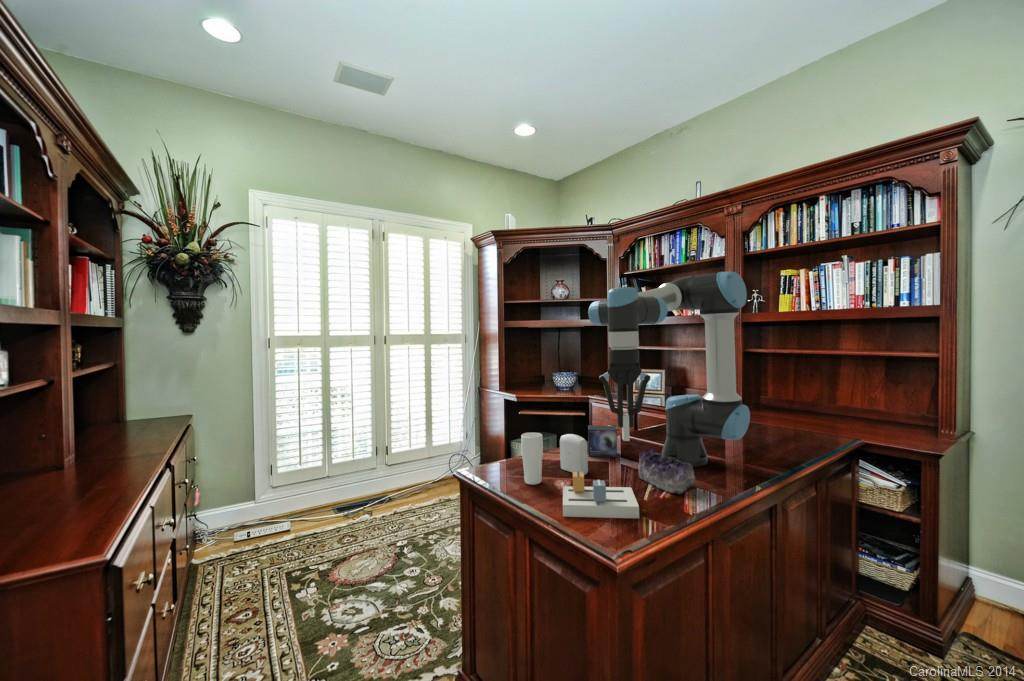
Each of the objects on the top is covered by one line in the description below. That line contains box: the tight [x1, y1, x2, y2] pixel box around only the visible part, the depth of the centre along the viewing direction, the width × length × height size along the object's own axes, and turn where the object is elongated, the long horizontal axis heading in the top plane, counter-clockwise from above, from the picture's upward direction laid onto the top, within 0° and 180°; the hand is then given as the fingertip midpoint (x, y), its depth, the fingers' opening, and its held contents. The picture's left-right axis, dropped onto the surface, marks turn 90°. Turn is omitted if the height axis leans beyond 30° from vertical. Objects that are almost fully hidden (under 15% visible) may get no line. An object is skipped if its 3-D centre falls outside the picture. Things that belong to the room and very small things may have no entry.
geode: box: [637, 448, 696, 496], centre depth 131 cm, size 20×12×10 cm, turn 27°
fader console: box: [562, 485, 640, 519], centre depth 115 cm, size 19×13×3 cm
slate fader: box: [592, 479, 607, 502], centre depth 112 cm, size 3×4×4 cm
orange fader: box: [572, 471, 585, 492], centre depth 119 cm, size 3×4×4 cm
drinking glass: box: [520, 432, 544, 486], centre depth 135 cm, size 7×7×15 cm
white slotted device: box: [559, 433, 589, 476], centre depth 144 cm, size 10×4×12 cm, turn 39°
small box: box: [587, 425, 618, 458], centre depth 162 cm, size 11×6×10 cm, turn 81°
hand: (625, 439), depth 111 cm, fingers closed
